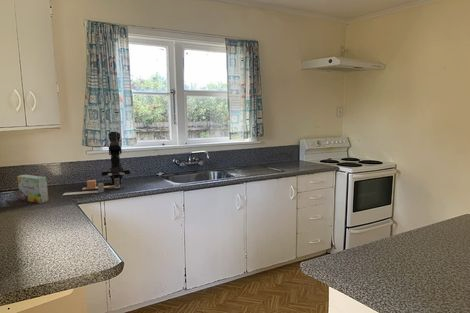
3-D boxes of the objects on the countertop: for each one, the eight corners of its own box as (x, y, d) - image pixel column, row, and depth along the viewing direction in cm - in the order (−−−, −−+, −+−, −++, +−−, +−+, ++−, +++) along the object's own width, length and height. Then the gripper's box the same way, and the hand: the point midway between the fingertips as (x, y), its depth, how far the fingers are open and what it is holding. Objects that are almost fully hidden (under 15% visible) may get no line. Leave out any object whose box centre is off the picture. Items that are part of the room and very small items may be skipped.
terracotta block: (96, 186, 230) (95, 179, 229) (95, 188, 225) (94, 181, 225) (88, 187, 229) (88, 180, 228) (87, 189, 224) (86, 181, 223)
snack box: (19, 200, 202) (16, 175, 200) (28, 197, 207) (25, 174, 205) (40, 203, 192) (37, 178, 190) (49, 201, 197) (47, 176, 195)
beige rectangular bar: (119, 186, 235) (119, 178, 234) (119, 187, 229) (118, 179, 228) (83, 188, 228) (82, 180, 228) (81, 190, 223) (81, 182, 222)
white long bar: (104, 191, 220) (103, 182, 219) (103, 193, 214) (102, 184, 213) (64, 194, 214) (63, 185, 213) (62, 196, 208) (61, 187, 207)
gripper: (99, 164, 219) (101, 188, 221) (129, 163, 224) (130, 185, 226) (101, 162, 230) (103, 184, 232) (129, 161, 234) (131, 182, 236)
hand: (117, 184), depth 231 cm, fingers open, 3 cm apart
